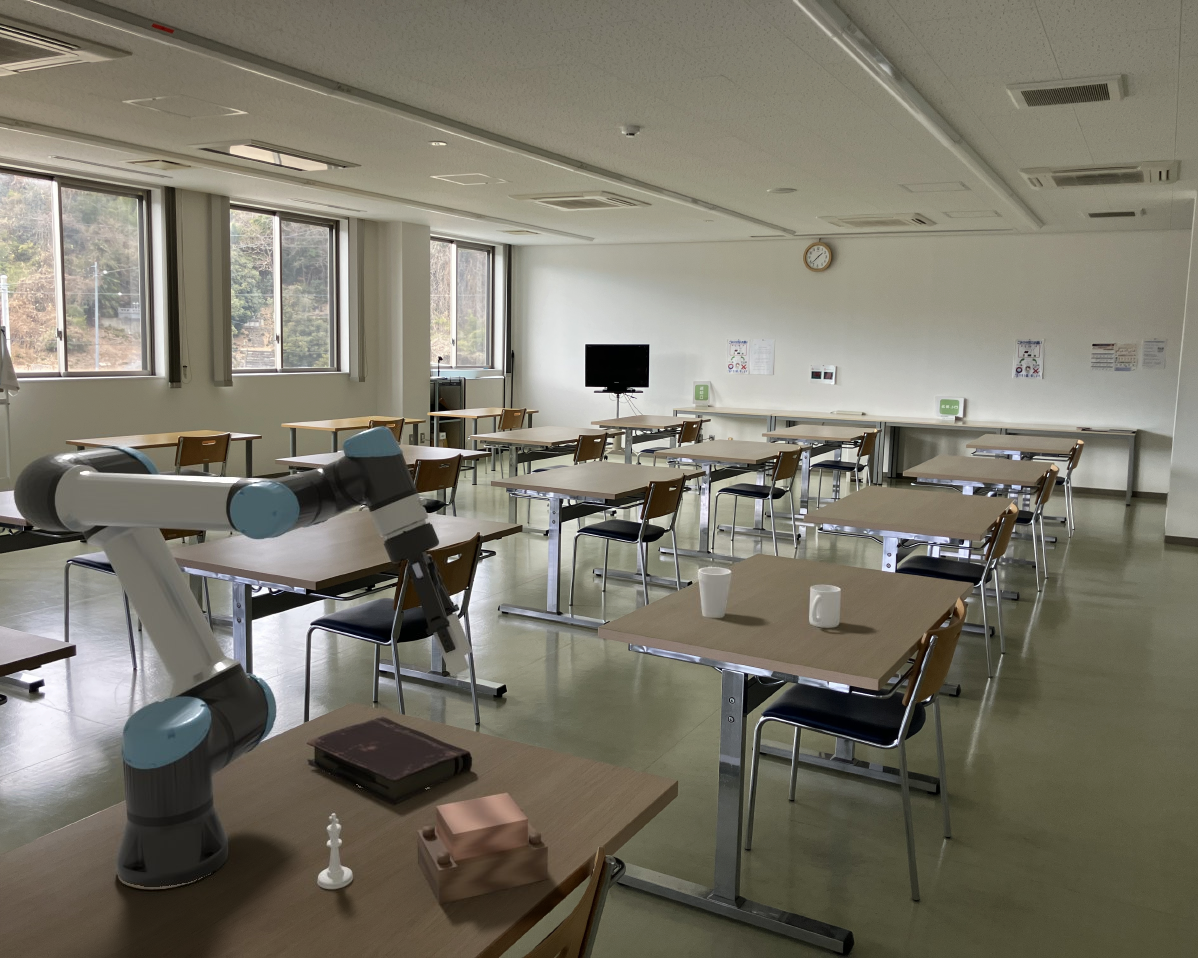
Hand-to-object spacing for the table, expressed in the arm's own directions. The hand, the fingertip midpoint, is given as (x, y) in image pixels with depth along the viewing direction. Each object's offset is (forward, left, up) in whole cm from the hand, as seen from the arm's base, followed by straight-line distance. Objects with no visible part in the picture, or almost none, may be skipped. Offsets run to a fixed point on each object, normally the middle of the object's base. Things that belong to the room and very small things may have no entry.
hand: (462, 663), depth 141 cm
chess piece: (-19, +1, -30) cm, 36 cm away
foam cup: (+104, +99, -30) cm, 147 cm away
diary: (-4, +35, -31) cm, 46 cm away
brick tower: (+1, -5, -30) cm, 30 cm away
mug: (+126, +78, -30) cm, 152 cm away
